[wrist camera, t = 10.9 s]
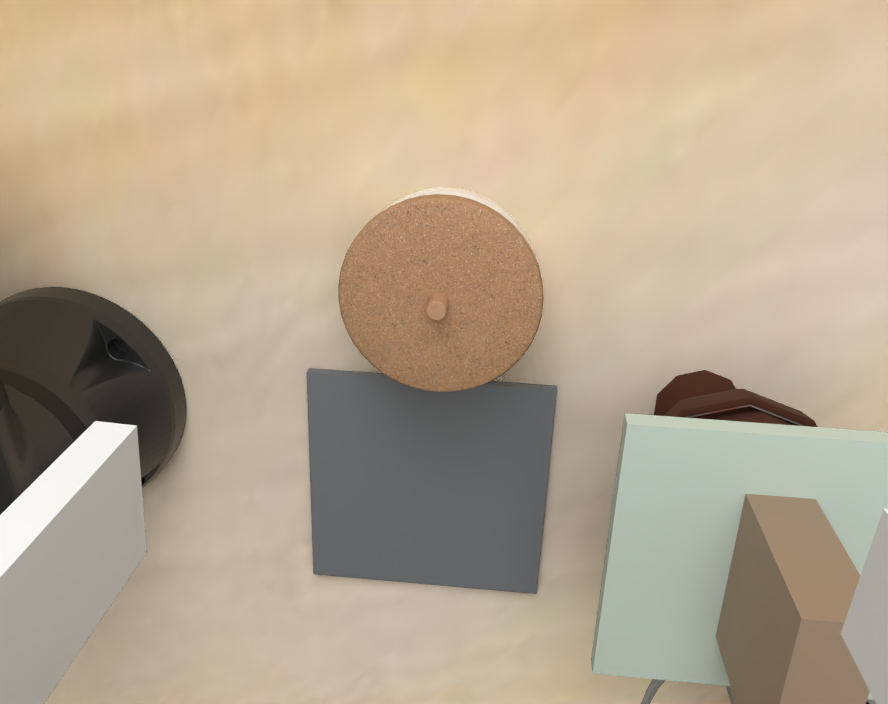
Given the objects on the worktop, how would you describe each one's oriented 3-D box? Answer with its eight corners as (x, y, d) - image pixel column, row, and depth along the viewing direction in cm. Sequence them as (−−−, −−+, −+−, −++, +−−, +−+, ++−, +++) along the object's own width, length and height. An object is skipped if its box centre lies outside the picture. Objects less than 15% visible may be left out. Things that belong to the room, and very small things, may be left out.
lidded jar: (337, 202, 49) (297, 245, 41) (508, 142, 47) (504, 174, 38) (401, 360, 53) (377, 429, 44) (563, 311, 51) (570, 375, 42)
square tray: (315, 568, 60) (313, 574, 59) (309, 368, 54) (306, 372, 53) (536, 588, 59) (536, 594, 58) (556, 385, 53) (556, 389, 52)
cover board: (591, 658, 42) (607, 820, 34) (624, 413, 36) (654, 534, 28) (876, 684, 41) (964, 858, 33) (955, 436, 35) (1085, 570, 27)
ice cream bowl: (663, 510, 55) (708, 678, 42) (580, 380, 52) (599, 516, 39) (815, 439, 52) (918, 595, 39) (736, 297, 49) (817, 412, 35)
